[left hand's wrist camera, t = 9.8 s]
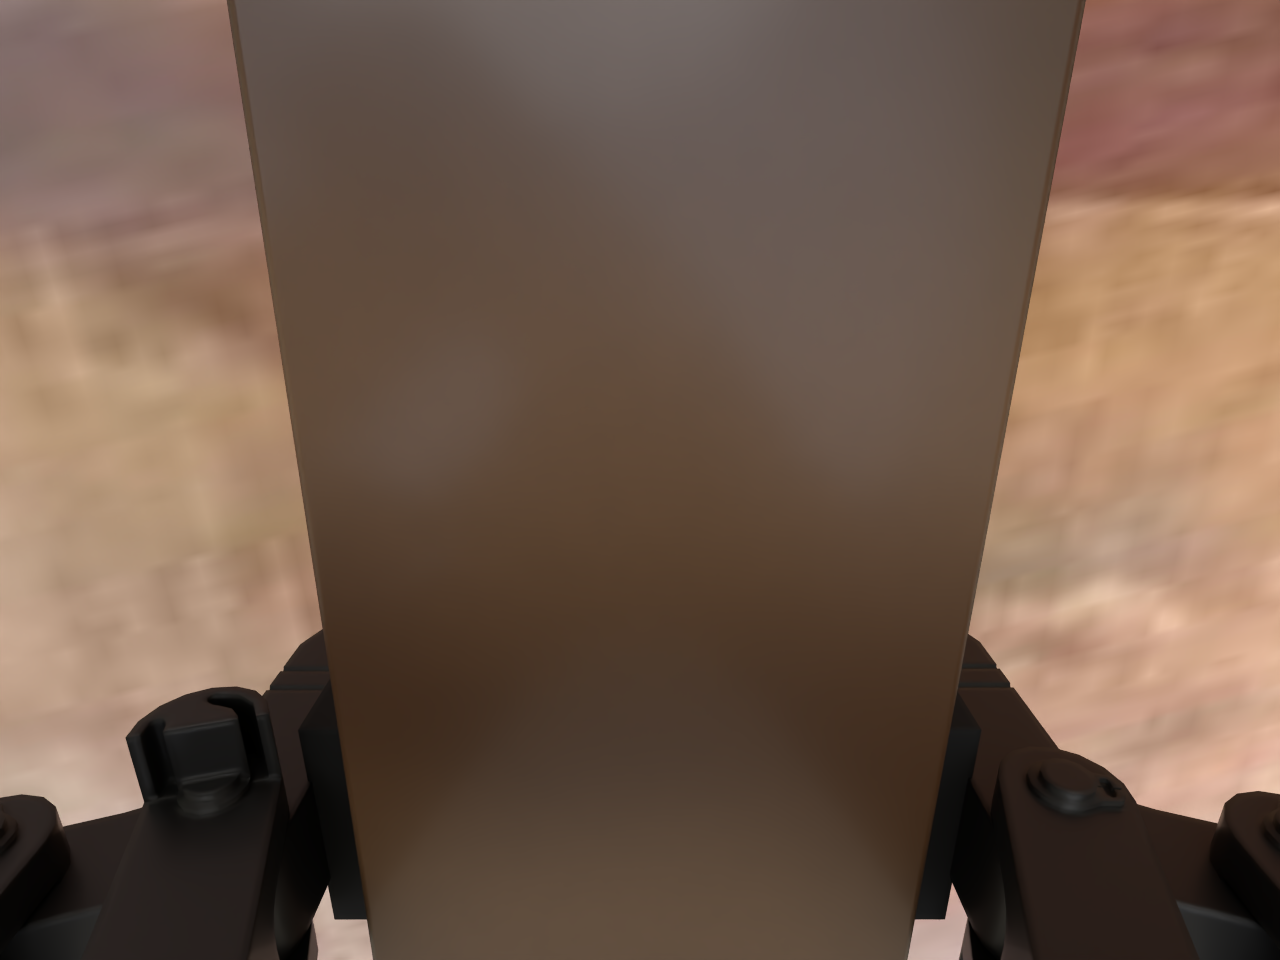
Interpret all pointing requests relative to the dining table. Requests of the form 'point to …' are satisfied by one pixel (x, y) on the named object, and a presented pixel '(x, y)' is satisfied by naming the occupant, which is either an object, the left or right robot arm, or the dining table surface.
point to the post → (648, 442)
